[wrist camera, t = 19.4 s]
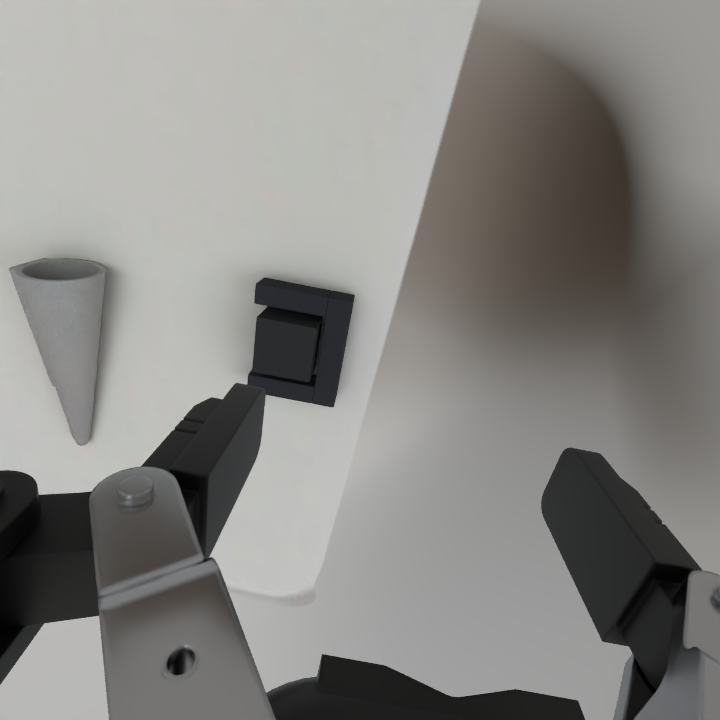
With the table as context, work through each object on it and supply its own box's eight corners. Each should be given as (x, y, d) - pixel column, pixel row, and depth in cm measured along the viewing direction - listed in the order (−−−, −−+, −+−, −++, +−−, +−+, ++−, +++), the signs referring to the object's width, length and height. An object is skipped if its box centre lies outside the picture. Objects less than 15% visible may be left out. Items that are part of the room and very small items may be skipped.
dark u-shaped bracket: (264, 277, 35) (255, 283, 33) (354, 294, 35) (352, 302, 33) (254, 379, 39) (246, 391, 37) (336, 395, 39) (333, 407, 37)
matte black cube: (323, 316, 36) (317, 328, 33) (315, 366, 38) (309, 382, 35) (267, 305, 36) (256, 317, 33) (263, 356, 38) (251, 372, 35)
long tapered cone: (112, 475, 39) (68, 286, 30) (53, 461, 40) (-8, 271, 31) (150, 438, 44) (122, 266, 35) (96, 426, 45) (55, 254, 36)
